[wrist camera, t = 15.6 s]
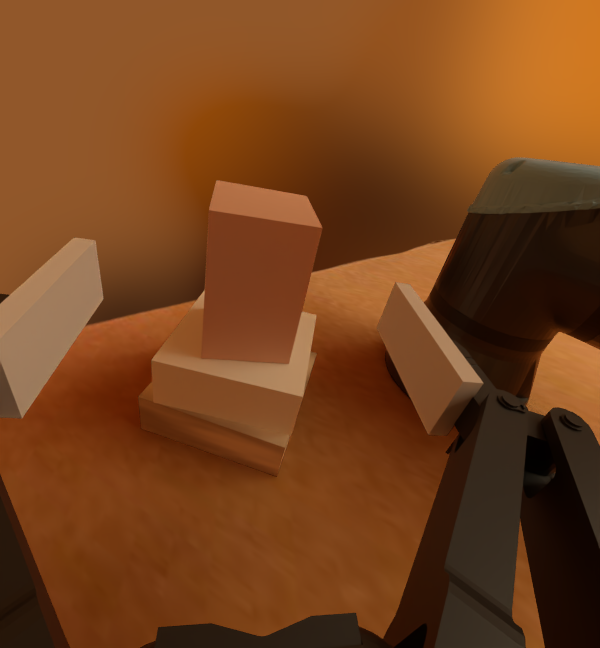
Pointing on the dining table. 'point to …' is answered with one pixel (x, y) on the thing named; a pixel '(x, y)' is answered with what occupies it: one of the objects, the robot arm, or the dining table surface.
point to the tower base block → (217, 432)
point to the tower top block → (231, 378)
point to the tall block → (256, 272)
